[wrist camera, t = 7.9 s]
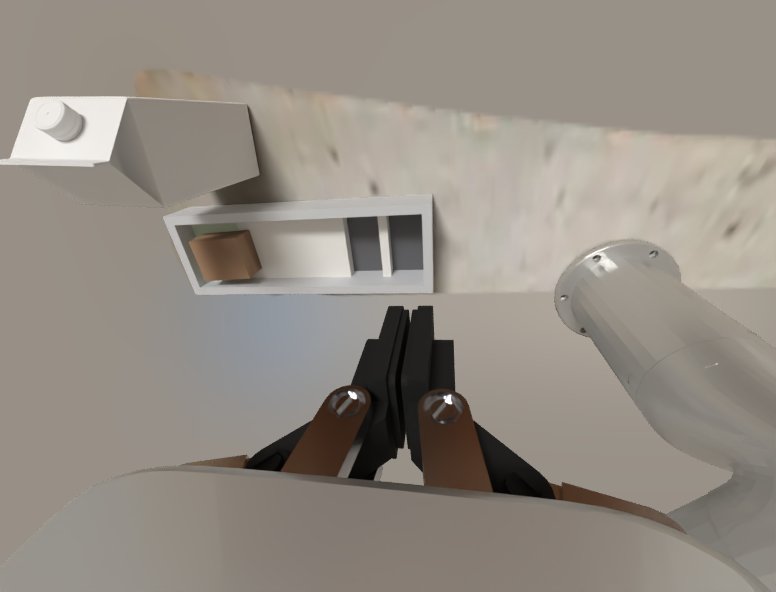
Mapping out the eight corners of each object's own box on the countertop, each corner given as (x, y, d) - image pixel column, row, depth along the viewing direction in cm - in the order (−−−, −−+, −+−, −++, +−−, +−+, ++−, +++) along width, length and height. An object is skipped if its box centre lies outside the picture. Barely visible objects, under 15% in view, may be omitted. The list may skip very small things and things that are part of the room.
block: (249, 229, 38) (235, 238, 36) (262, 268, 40) (250, 278, 38) (204, 233, 39) (188, 242, 37) (220, 270, 42) (205, 281, 39)
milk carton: (261, 175, 37) (118, 224, 20) (204, 173, 38) (23, 220, 21) (248, 103, 33) (62, 92, 17) (185, 103, 34) (-50, 93, 18)
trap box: (432, 193, 35) (431, 203, 31) (433, 275, 40) (433, 293, 36) (189, 207, 40) (162, 216, 36) (216, 279, 45) (195, 294, 41)
